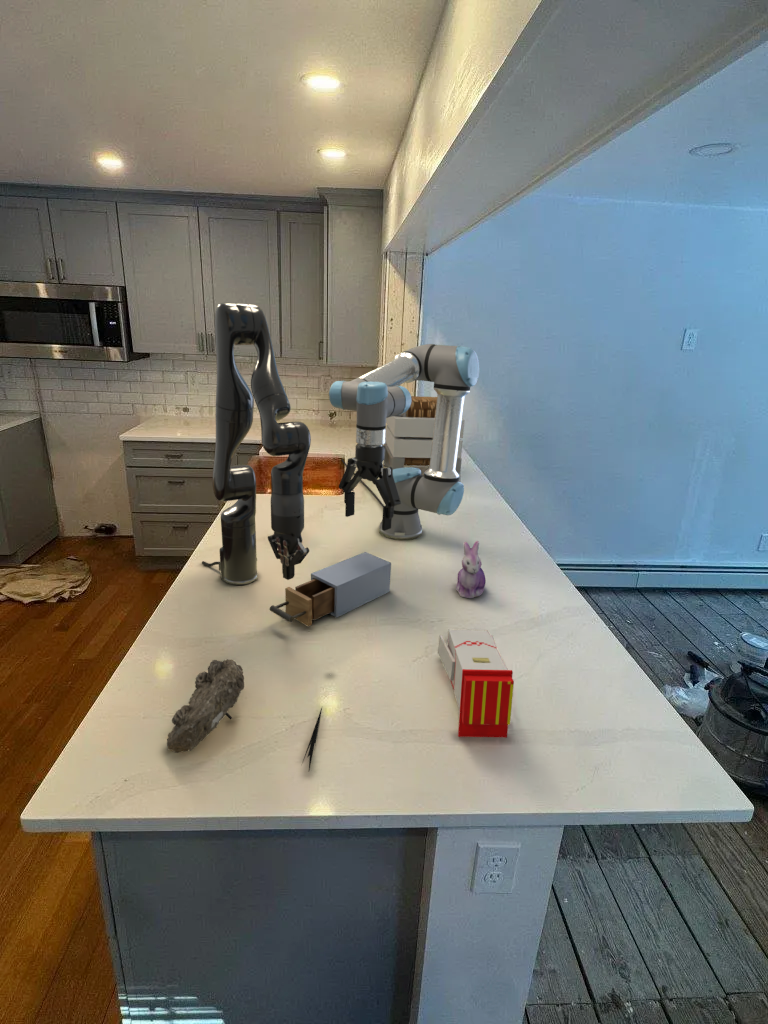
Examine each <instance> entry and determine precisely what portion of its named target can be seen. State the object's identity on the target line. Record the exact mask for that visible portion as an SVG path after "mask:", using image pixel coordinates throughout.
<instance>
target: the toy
mask: <svg viewBox="0 0 768 1024" xmlns="http://www.w3.org/2000/svg"><path fill="white" fill-rule="evenodd" d="M446 640H447V643H446V641H445V639H444V636H443V635H442V634H439V637H438V646H437V656H438V657H439V659H440V661H441V663H442V666H443V668H444V670H445V672H446V674H447V677H448V679H449V681H450V684H451V687H452V690H453V693H454V697H455V701H456V705H457V708H458V711H459V714H458V715H459V716H458V730H457V731H458V732H457V737H458V738H508V731H509V726H510V725H511V717H512V707H513V697H514V696H513V695H514V684H515V680H514V679H513V673H514V671H513V670H512V669H508V667H507V665H506V662H505V661H504V659H503V658H502V655H501V653H500V651H499V649H498V647H497V643H496V639H495V637H494V635H493V634H491V632H490V631H489V629H467V628H466V629H465V628H463V629H461V628H460V629H459V628H448V630H447V639H446Z"/></svg>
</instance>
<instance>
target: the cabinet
mask: <svg viewBox="0 0 768 1024" xmlns="http://www.w3.org/2000/svg"><path fill="white" fill-rule="evenodd" d="M391 572H392V562H391V561H389V560H386V559H383V558H381V557H379V556H376V555H374V554H373V553H369V552H367V551H364V552H362V553H359V554H356V555H354V556H351V557H349V558H346V559H344V560H341V561H339V562H336V563H334V564H331V565H329V566H325V567H323V568H321V569H318V570H316V571H314V572H313V571H312V572H311V573H310V581H311V580H313V579H317V580H319V581H321V582H323V583H325V584H327V585H329V586H332V587H334V588H335V604H334V611H333V612H331V613H329V615H331V616H332V617H334V618H339V617H341V616H343V615H345V614H347V613H350V612H351V611H353V610H355V609H357V608H359V607H361V606H364V605H365V604H367V603H370V602H372V601H374V600H375V599H378V598H380V597H382V596H384V595H386V594H388V593H390V592H391V577H392V576H391V575H392V573H391Z"/></svg>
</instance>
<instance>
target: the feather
mask: <svg viewBox="0 0 768 1024" xmlns="http://www.w3.org/2000/svg"><path fill="white" fill-rule="evenodd" d="M329 675H330V676H331V675H332V674H331V673H330V674H329ZM322 710H323V707H321V708H320V710H319V713H318V716H317V719H316V723H315V725H314V728H313V731H312V733H311V737H310V739H309V742H308V745H307V748H306V751H305V754H304V757H303V760H302V763H301V767H302V765H303V763H304V761H305V758H308V759H309V760H308V762H307V763H308V764H307V766H308V771H310V770H311V766H312V765H311V764H312V760H313V757H315V756H314V755H315V751H316V749H315V746H317V739H318V733H319V729H320V722H321V717H322V712H323V711H322ZM313 754H314V755H313ZM306 755H307V757H306Z"/></svg>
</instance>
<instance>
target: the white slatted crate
mask: <svg viewBox="0 0 768 1024" xmlns="http://www.w3.org/2000/svg"><path fill="white" fill-rule="evenodd" d="M399 386H401V385H399ZM411 400H412V402H411V406H410V408H409V409H408V410H407V411H406V412H404V413H402V414H400V415H398V416H392V417H388V418H386V437H385V444H383V445H384V446H385V458H384V460H383V463H382V464H383V467H386V468H388V467H392V469H397V468H405V466H406V467H409V466H411V467H417V466H418V467H430V458H431V449H432V440H433V431H434V422H435V413H436V404H437V396H415V395H414V396H413V395H411ZM464 429H465V419H464V418H462V420H461V428H460V436H459V444H458V452H457V461H456V469H455V470H456V472H457V473H458V474H459V482H461V472H462V461H463V460H462V453H463V442H464V441H463V440H462V439H463V438H464V431H465V430H464Z"/></svg>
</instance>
